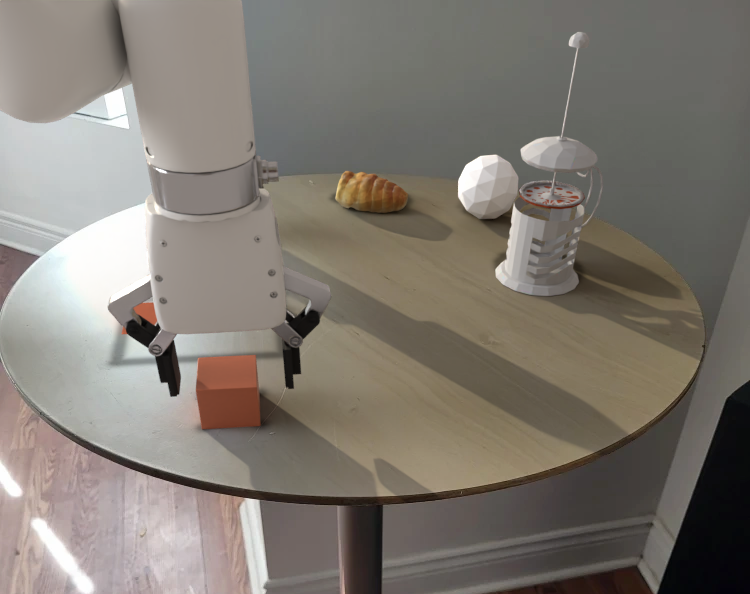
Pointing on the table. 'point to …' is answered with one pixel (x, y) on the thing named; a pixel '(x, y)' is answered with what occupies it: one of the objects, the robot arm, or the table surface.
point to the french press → (531, 258)
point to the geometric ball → (488, 187)
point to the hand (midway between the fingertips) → (233, 383)
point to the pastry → (369, 193)
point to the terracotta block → (228, 392)
